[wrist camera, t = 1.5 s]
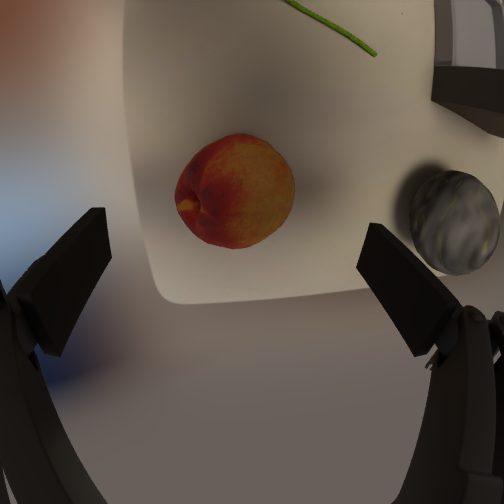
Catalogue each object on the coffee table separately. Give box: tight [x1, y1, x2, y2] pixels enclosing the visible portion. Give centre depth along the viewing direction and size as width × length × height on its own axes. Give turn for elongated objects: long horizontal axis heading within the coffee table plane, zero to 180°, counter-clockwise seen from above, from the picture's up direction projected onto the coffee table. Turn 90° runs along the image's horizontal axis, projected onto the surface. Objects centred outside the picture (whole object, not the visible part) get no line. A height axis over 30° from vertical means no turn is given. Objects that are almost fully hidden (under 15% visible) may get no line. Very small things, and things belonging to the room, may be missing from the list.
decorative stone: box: [409, 170, 500, 276], centre depth 20 cm, size 10×10×10 cm
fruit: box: [175, 134, 295, 249], centre depth 19 cm, size 8×8×8 cm
